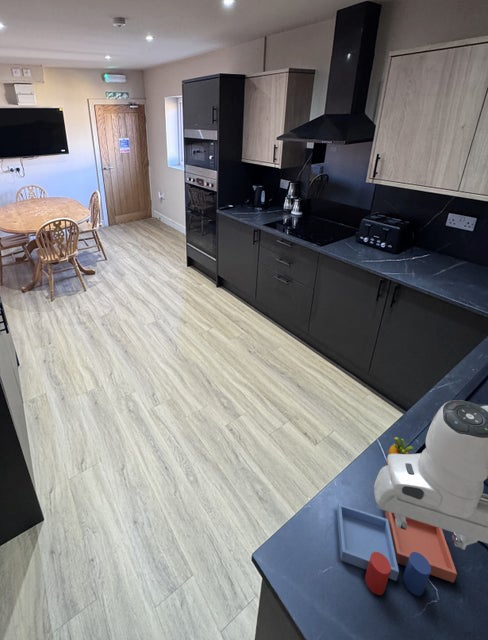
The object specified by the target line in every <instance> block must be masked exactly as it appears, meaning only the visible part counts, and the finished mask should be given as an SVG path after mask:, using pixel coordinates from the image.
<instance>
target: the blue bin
mask: <svg viewBox="0 0 488 640" xmlns="http://www.w3.org/2000/svg"><path fill="white" fill-rule="evenodd" d="M336 517H337V529H338V531H337V532H338V543H339V554H340V555H339V557H340V561H342V562H344V563H347V564H350V565H353V566H355V567H358V568H360V569H363V570H366V571H367V568H368V564H369V560H370V556H371V554H372V553H373V552H379V553H381V554H383V555H384V556H385V557H386V558H387V559H388V561H389V563H390V566H391V571H390V575H389V578H388V579H390V580H392V581H395V582H397V580H398V577H399V573H400V571H399V565H398V563H397V560H396V555H395V551H394V546H393V541H392V536H391V532H390V527H389V522H388V519H386V517H382V516H380V515H376V514H373V513H370V512H367V511H364V510H360V509H358V508H354V507H352V506H348V505H345V504H342V503H338V504H337V509H336Z"/></svg>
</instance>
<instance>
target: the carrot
mask: <svg viewBox="0 0 488 640" xmlns="http://www.w3.org/2000/svg"><path fill="white" fill-rule="evenodd" d="M393 439H394V441H395V443H393V444H392V445H391V446H390V447H389V450H388V451H387V457H388V455H389V454H410V453H409V452H410V451H412V450H414V446H412V445H408V446H407V447H406V442H405V439H403V438H399V436H398V437H397V436H396V437H394V438H393ZM387 457H386V458H387ZM387 465H388V462H387V461H386V463H385V466H387Z"/></svg>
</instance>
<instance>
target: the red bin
mask: <svg viewBox="0 0 488 640" xmlns="http://www.w3.org/2000/svg"><path fill="white" fill-rule="evenodd" d="M384 511H385V510H384ZM384 515H385V518H386V519H388V522H389V527H390V532H391V536H392V541H393V546H394V551H395V555H396V560H397V564H400V565H402V566H405V567H406V565H407V562H408V559H409V556H410V554H411V553H412V552H417V553H420V554H421V555H423V556H424V557H425V558H426V559H427V561H428V562H429V564H430V566H431V572H430V575H429V576H434V577H437V578H438V579H441V580H444V581H448V582H450V583H455V581H456V578H457V575H458V572H457V569H456V566H455V563H454V561H453V558H452V554H451V552H450V549H449V545H448V543H447V540H446V537H445V534H444V532H443V529H441V528H438V527H435V526H432V525H429V524H426V523H423V522H419V521H416V520H413V519H410V518H407V517H405V518H406V522H407V528H406V530H404V529H401V528H398V527H397V526H396V521H395V515H394V513H392V512H389V511H385V512H384Z"/></svg>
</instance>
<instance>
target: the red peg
mask: <svg viewBox="0 0 488 640" xmlns="http://www.w3.org/2000/svg"><path fill="white" fill-rule="evenodd" d="M390 571H391V566H390V563H389V561H388V559H387V558H386V557H385V556H384V555H383V554H381V553H379V552H373V553H372V554H371V556H370V560H369V564H368V568H367V570H366V572H365V578H364V580H365V584H366V586H367V588H368V589H369V591H371V592H372V593H373V594H375V595H377V596H382V595H384V594H385V592H386V587H387V584H388V581H389V579H390V578H389V575H390Z"/></svg>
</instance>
